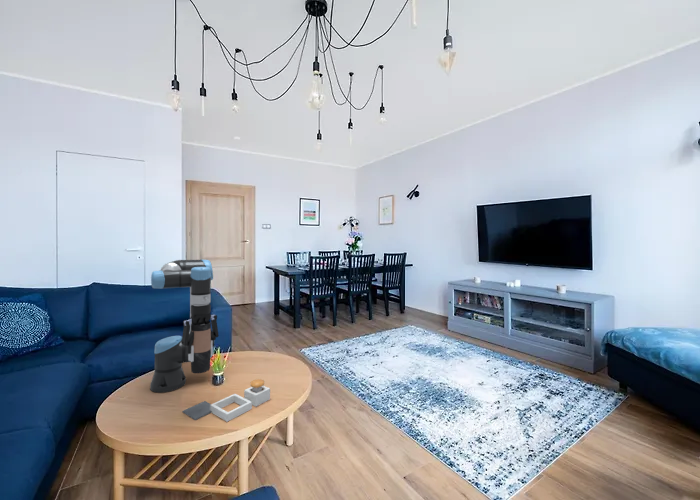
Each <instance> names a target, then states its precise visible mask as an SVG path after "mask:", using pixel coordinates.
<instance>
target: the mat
mask: <svg viewBox="0 0 700 500" xmlns="http://www.w3.org/2000/svg"><path fill="white" fill-rule="evenodd" d="M211 404H212V403H209V402H208V401H206V400H204V401H202V402H200V403H196V404H195V405H193V406H190V407H188V408H186V409H183V410H182V413H183V414H185V415H187V416H188V417H189V418H191V419H192V420H194V421H197V420H200V419H202V418H203V417H205V416H208V415H209V414H212V413H211V411H210V405H211Z"/></svg>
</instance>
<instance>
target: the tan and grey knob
mask: <svg viewBox="0 0 700 500" xmlns="http://www.w3.org/2000/svg"><path fill="white" fill-rule="evenodd" d="M249 386H250V387H253V392H255V393H258V392H260V391H262V386H265V380H264V379H261V378H260V379H259V378H258V379H257V378H256V379H253V380H252V381H250V385H249Z"/></svg>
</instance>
